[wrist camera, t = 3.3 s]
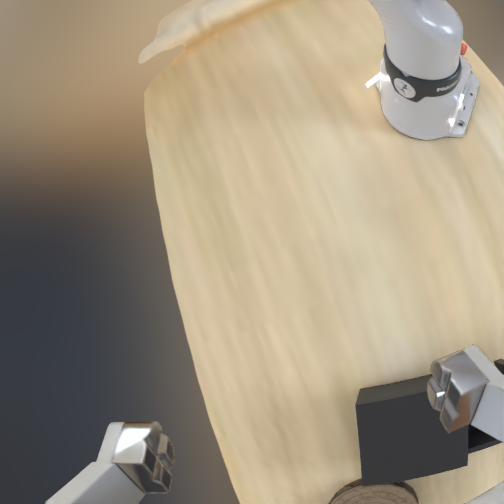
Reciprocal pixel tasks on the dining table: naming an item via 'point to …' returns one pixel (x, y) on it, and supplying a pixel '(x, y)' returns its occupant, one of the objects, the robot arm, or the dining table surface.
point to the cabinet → (405, 434)
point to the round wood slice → (375, 494)
